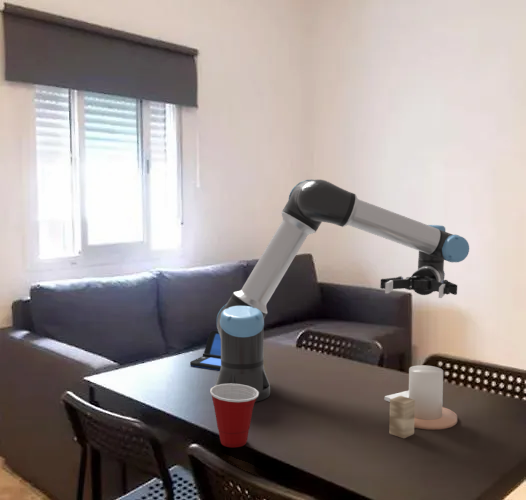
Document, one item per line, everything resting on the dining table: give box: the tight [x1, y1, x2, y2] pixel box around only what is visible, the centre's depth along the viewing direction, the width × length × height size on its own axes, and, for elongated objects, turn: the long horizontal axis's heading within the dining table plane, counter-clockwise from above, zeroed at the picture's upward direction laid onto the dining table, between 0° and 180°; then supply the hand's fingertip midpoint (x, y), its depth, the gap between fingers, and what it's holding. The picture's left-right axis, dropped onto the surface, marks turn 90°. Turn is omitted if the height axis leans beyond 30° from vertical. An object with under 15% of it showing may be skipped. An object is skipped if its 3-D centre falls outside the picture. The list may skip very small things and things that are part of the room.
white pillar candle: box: [408, 364, 444, 420], centre depth 152 cm, size 8×8×11 cm
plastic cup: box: [209, 384, 259, 448], centre depth 137 cm, size 11×11×12 cm
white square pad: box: [384, 389, 409, 403], centre depth 164 cm, size 10×10×1 cm
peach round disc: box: [414, 406, 458, 431], centre depth 152 cm, size 15×15×1 cm
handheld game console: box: [189, 330, 221, 372], centre depth 200 cm, size 16×13×9 cm
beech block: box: [388, 396, 415, 439], centre depth 142 cm, size 4×4×8 cm
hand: (413, 290), depth 160 cm, fingers open, 13 cm apart
